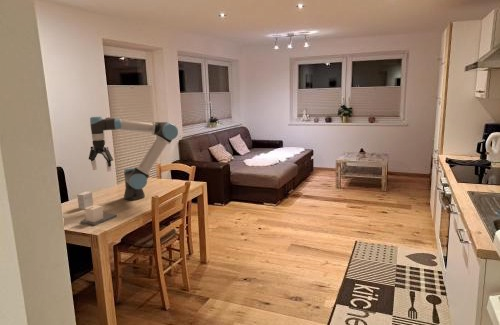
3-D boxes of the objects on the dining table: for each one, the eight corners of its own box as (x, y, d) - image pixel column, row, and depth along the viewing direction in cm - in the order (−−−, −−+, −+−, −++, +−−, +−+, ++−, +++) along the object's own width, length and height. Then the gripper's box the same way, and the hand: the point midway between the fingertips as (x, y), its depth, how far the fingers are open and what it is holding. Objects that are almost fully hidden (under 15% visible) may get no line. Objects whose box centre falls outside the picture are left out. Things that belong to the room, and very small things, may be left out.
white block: (95, 216, 224) (94, 204, 223) (103, 218, 221) (102, 205, 220) (86, 220, 218) (84, 207, 217) (94, 222, 215) (92, 209, 214)
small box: (87, 205, 252) (86, 191, 250) (93, 206, 250) (92, 191, 248) (78, 208, 245) (76, 194, 243) (84, 209, 243) (83, 194, 241)
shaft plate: (103, 214, 233) (103, 206, 232) (117, 216, 228) (116, 208, 227) (80, 223, 218) (79, 214, 216) (94, 226, 212) (93, 217, 211)
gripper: (80, 139, 240) (84, 170, 244) (107, 141, 229) (111, 172, 234) (89, 138, 246) (93, 168, 251) (116, 139, 236) (119, 170, 240)
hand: (101, 170), depth 242 cm, fingers open, 13 cm apart
